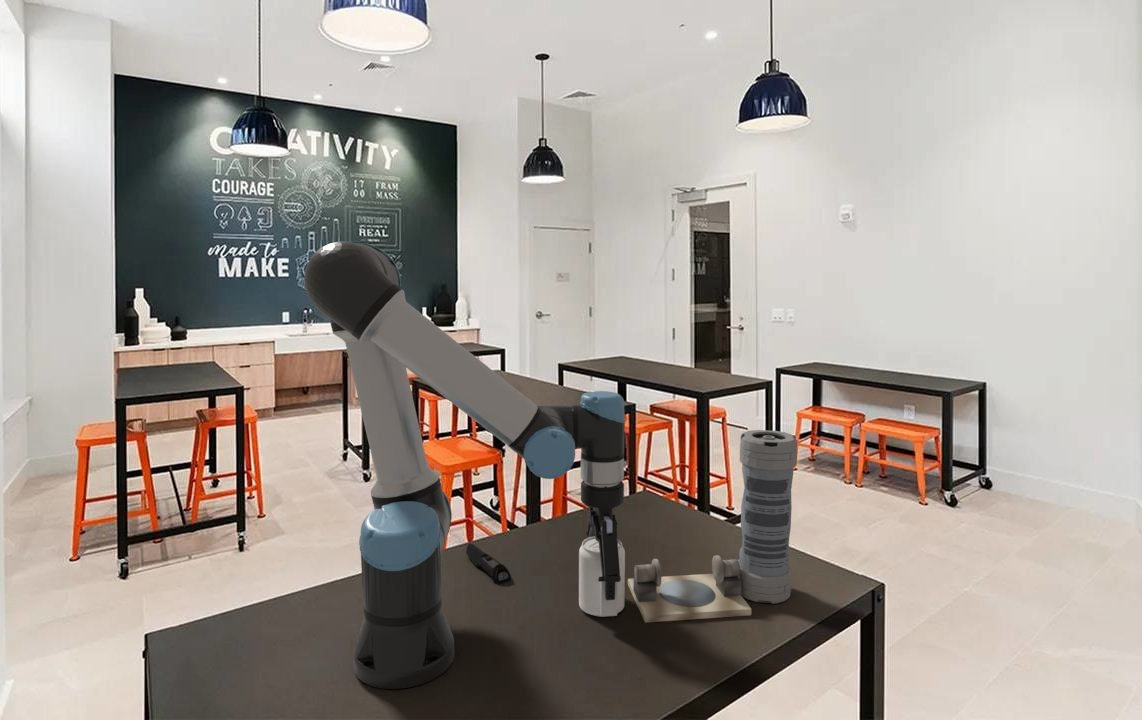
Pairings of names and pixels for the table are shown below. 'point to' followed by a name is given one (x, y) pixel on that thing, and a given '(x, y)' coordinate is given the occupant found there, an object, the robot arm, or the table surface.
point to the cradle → (689, 593)
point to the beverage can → (596, 577)
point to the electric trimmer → (488, 564)
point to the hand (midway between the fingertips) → (601, 595)
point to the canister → (766, 514)
